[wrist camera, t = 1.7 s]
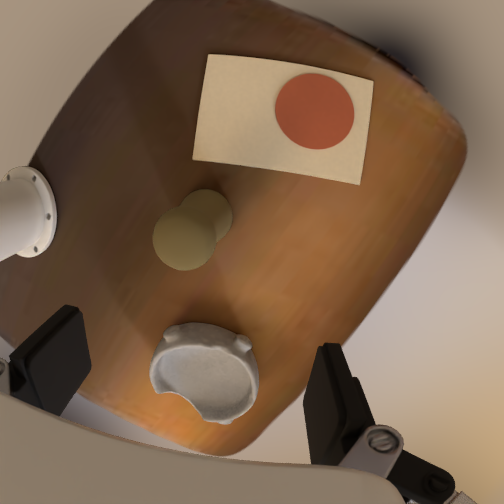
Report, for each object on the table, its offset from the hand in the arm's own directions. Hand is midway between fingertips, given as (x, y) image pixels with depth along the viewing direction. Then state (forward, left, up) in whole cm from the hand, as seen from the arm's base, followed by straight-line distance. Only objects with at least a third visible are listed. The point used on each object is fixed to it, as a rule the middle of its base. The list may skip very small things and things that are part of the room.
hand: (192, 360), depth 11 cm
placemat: (+3, +12, -24) cm, 27 cm away
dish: (-2, -19, -24) cm, 30 cm away
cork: (-4, 0, -24) cm, 24 cm away
